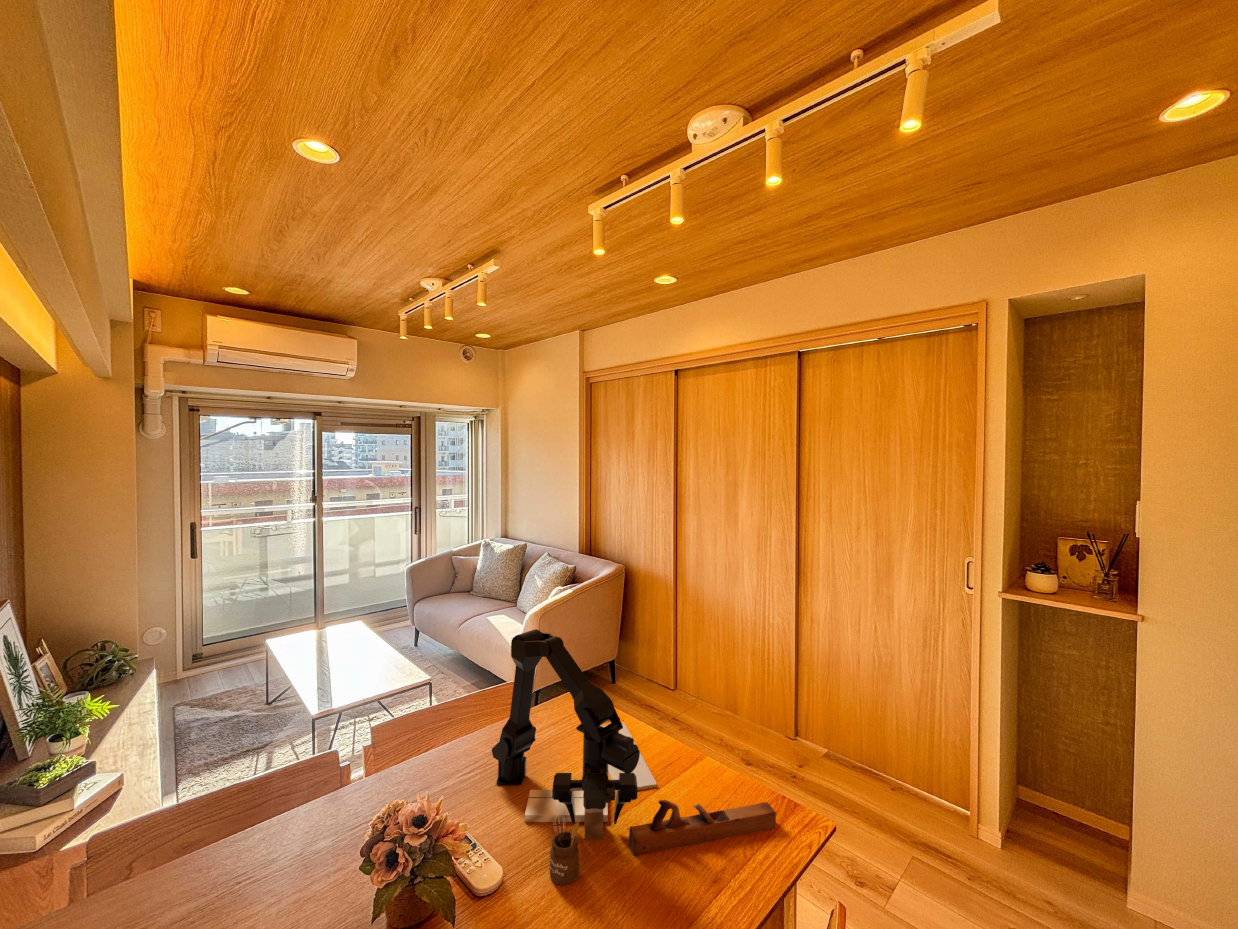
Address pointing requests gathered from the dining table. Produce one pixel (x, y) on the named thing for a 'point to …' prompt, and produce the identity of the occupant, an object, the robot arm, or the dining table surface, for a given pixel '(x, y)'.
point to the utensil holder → (564, 856)
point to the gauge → (593, 824)
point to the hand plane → (698, 826)
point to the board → (555, 808)
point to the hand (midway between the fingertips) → (594, 823)
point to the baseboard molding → (640, 771)
